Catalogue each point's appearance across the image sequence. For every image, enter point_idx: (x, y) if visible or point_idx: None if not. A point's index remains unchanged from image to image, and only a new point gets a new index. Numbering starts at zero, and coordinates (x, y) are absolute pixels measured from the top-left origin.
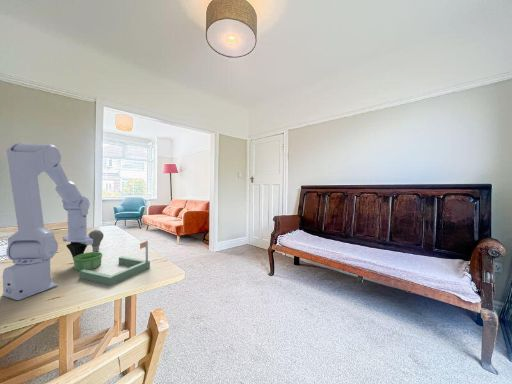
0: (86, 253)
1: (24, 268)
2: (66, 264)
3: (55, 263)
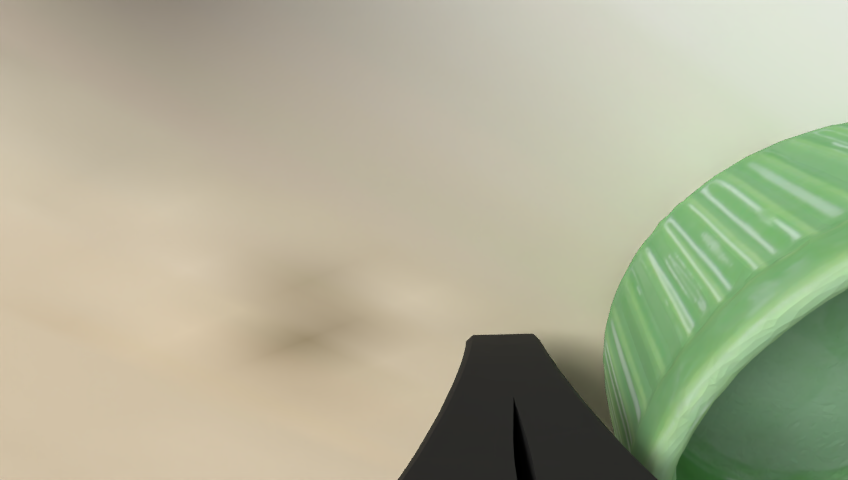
0: (709, 397)
1: None
2: (293, 404)
3: (70, 440)
